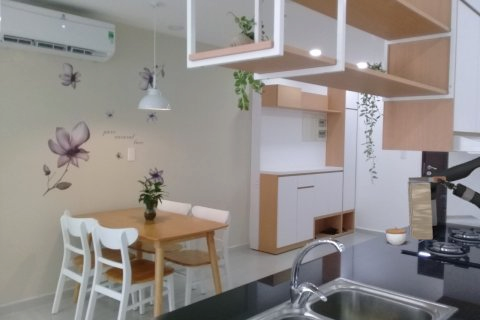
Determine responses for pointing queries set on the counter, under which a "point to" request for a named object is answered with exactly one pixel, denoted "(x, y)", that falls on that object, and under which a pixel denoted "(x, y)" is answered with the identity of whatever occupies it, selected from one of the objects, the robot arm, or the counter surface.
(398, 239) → the lidded jar
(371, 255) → the counter surface
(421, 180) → the birch stand
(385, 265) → the counter surface
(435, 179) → the breaker handle
